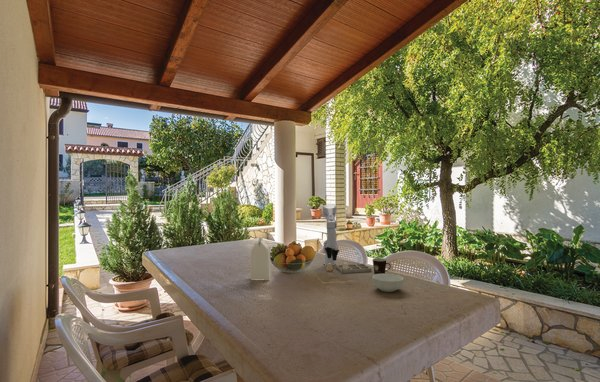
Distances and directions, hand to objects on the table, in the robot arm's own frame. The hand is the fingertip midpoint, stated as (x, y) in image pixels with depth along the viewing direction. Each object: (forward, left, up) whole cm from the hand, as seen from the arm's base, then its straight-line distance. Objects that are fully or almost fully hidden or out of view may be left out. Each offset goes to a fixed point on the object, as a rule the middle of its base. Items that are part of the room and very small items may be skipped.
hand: (331, 259), depth 221 cm
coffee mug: (+15, +28, -9) cm, 33 cm away
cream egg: (+4, +8, -8) cm, 12 cm away
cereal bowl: (+43, +20, -9) cm, 49 cm away
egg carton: (0, +15, -9) cm, 17 cm away
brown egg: (-2, -1, -9) cm, 9 cm away
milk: (+4, -47, -9) cm, 48 cm away
